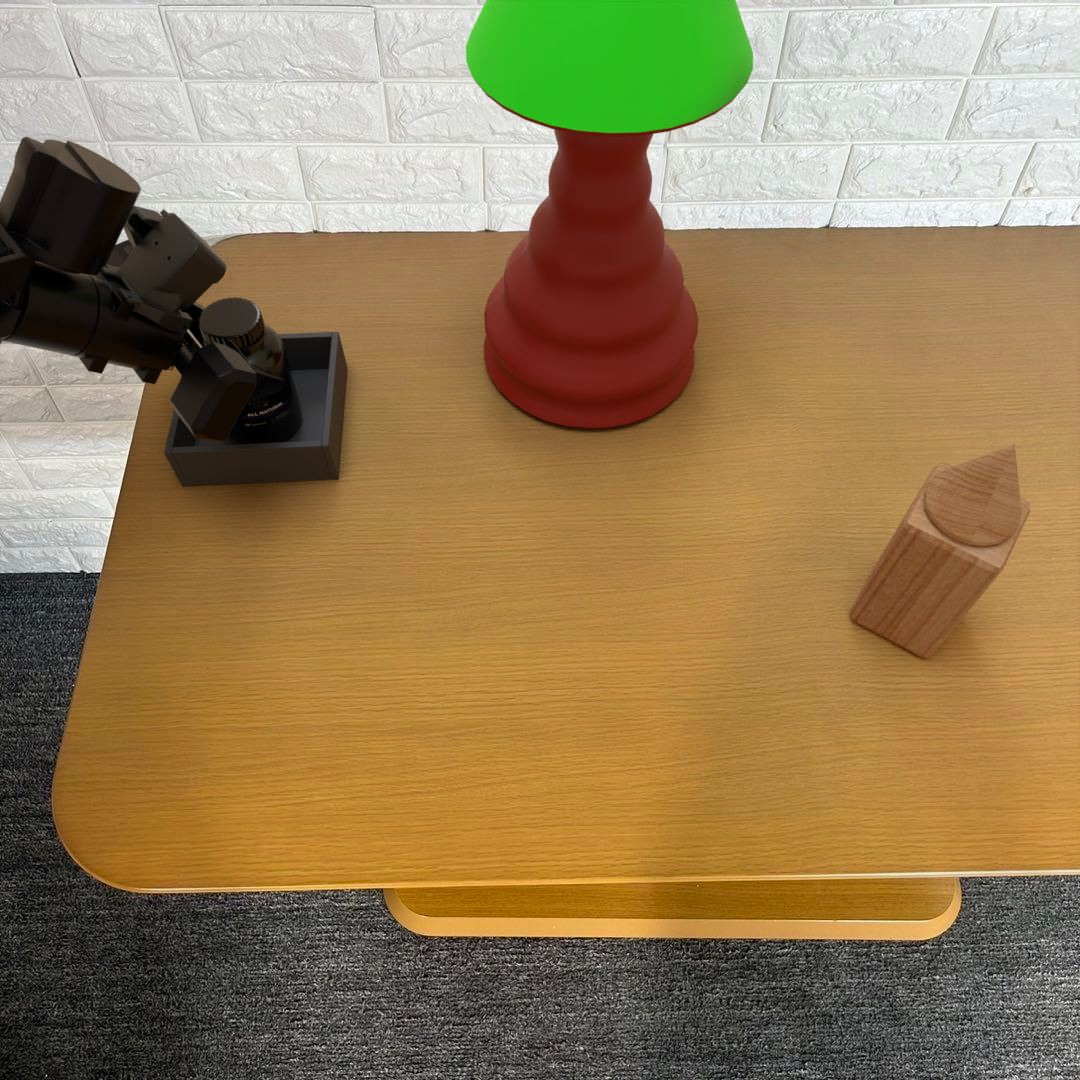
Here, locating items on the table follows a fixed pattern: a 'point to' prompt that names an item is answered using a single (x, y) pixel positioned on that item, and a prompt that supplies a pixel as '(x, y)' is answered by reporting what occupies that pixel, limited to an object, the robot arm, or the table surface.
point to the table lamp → (600, 197)
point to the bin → (296, 457)
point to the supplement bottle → (262, 349)
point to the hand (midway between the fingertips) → (260, 360)
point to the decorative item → (944, 552)
